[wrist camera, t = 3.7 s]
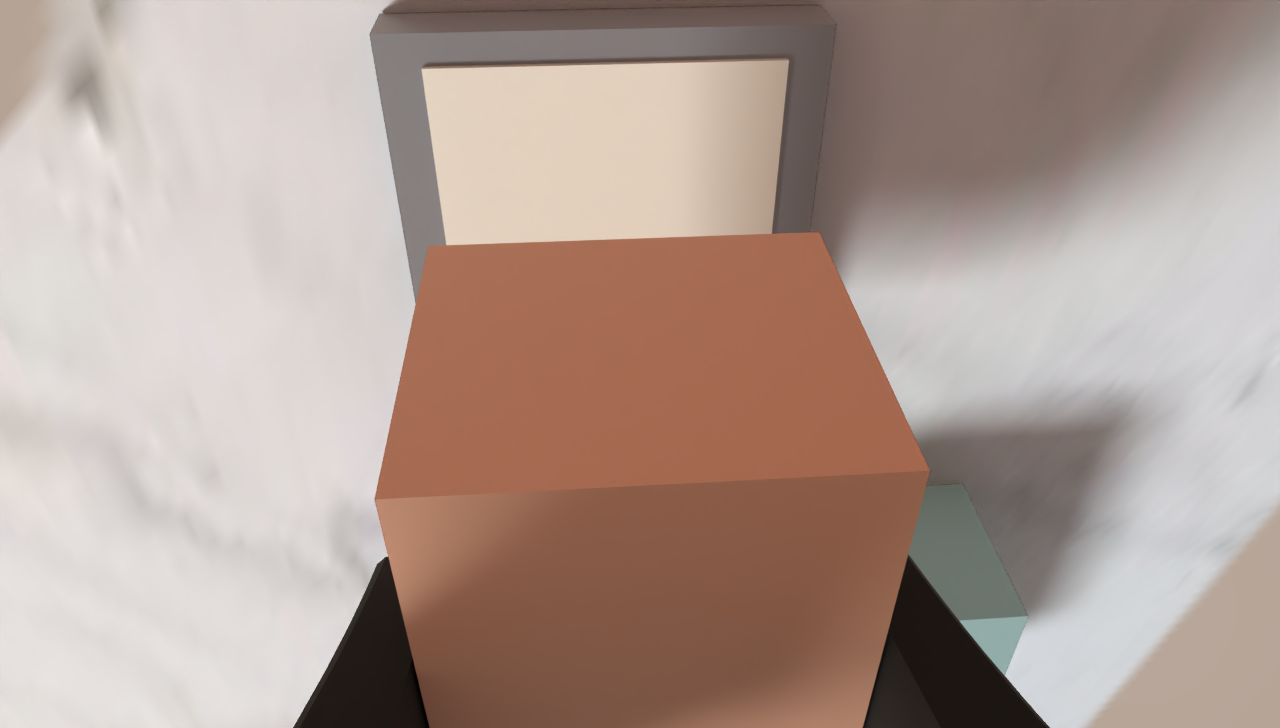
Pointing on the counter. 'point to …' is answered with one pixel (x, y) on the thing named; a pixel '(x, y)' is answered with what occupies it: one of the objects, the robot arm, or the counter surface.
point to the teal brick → (967, 571)
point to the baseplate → (602, 122)
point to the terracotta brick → (645, 486)
